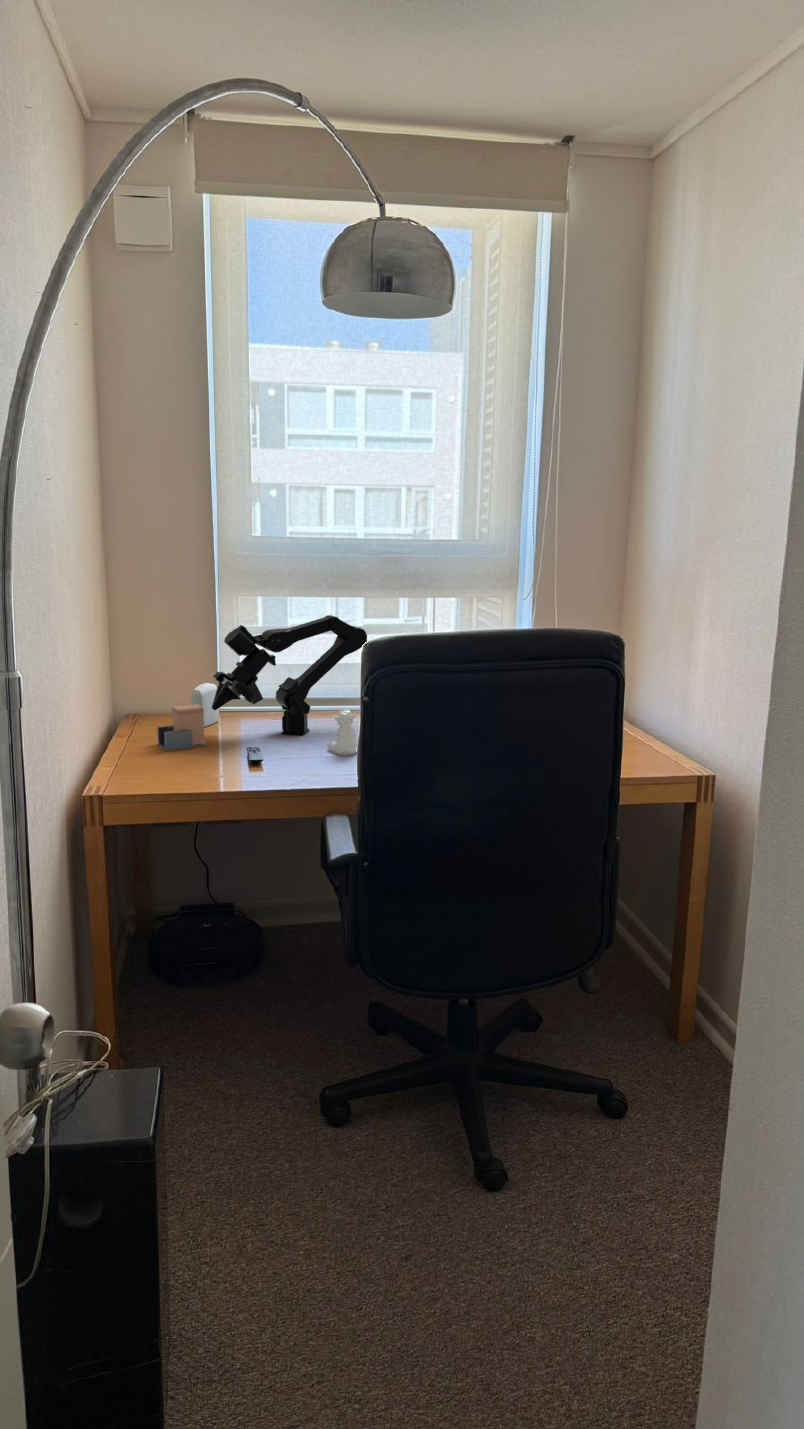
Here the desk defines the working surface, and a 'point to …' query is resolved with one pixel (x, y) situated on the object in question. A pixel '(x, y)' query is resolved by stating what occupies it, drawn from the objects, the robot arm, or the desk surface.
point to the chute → (175, 738)
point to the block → (190, 721)
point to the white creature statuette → (344, 735)
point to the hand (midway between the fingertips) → (213, 709)
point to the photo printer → (206, 702)
